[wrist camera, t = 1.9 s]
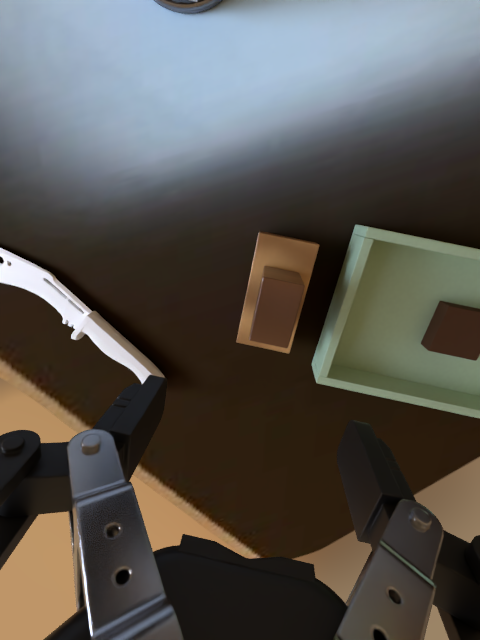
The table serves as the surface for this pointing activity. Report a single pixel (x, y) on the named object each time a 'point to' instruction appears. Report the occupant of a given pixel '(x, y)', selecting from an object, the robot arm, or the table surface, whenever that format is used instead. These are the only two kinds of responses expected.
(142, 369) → the knife
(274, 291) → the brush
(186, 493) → the table surface
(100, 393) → the table surface
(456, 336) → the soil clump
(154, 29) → the table surface
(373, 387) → the tray
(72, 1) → the table surface
